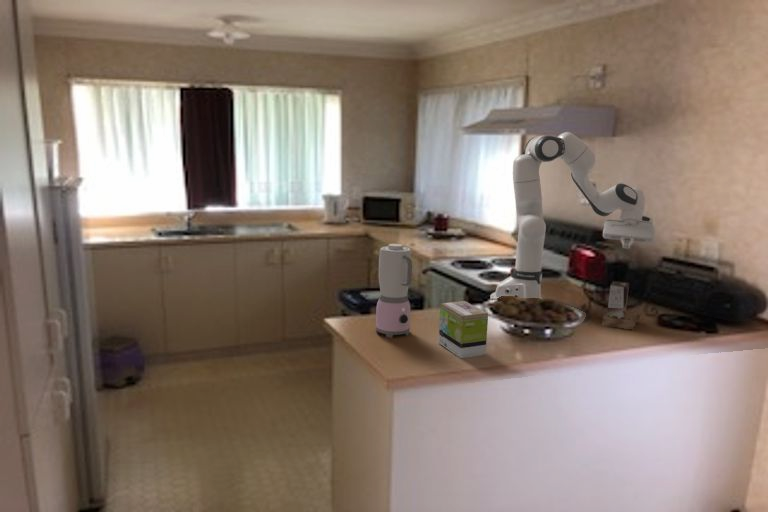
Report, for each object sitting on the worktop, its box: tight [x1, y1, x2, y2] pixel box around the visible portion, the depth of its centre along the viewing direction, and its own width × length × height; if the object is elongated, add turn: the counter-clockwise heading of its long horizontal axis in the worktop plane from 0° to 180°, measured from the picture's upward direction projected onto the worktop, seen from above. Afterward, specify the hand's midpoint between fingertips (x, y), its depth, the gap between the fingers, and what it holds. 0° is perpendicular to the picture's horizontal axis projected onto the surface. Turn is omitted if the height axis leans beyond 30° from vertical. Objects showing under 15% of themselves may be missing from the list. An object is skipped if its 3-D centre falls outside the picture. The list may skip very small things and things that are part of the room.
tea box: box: [438, 300, 489, 359], centre depth 197 cm, size 15×10×15 cm
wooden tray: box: [601, 308, 641, 331], centre depth 232 cm, size 14×13×4 cm
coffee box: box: [607, 280, 630, 320], centre depth 231 cm, size 9×6×16 cm
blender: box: [375, 243, 413, 339], centre depth 209 cm, size 16×12×32 cm
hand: (626, 247), depth 246 cm, fingers closed
